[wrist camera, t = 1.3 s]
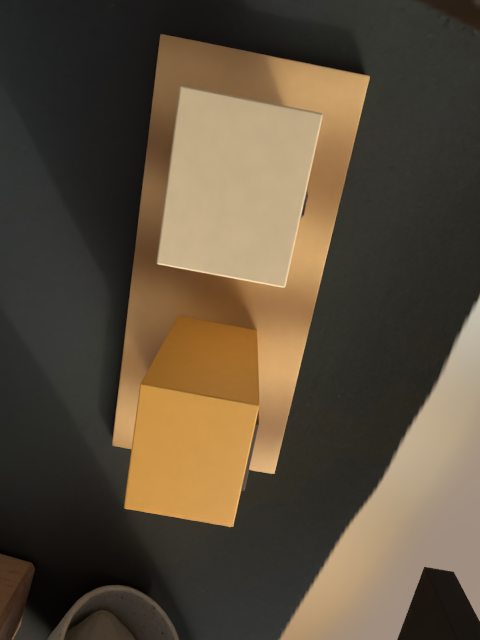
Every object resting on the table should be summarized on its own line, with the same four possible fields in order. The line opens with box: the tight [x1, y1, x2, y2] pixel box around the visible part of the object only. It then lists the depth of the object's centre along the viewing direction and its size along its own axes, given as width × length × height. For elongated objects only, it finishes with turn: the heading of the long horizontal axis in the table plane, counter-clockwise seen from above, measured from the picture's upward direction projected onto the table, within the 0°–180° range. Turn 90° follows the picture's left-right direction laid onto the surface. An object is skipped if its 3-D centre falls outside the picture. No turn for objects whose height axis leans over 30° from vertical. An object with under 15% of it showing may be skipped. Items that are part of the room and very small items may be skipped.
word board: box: [112, 34, 370, 474], centre depth 22 cm, size 20×9×1 cm, turn 170°
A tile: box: [157, 86, 323, 288], centre depth 17 cm, size 5×4×8 cm
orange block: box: [124, 316, 260, 527], centre depth 20 cm, size 5×4×8 cm
